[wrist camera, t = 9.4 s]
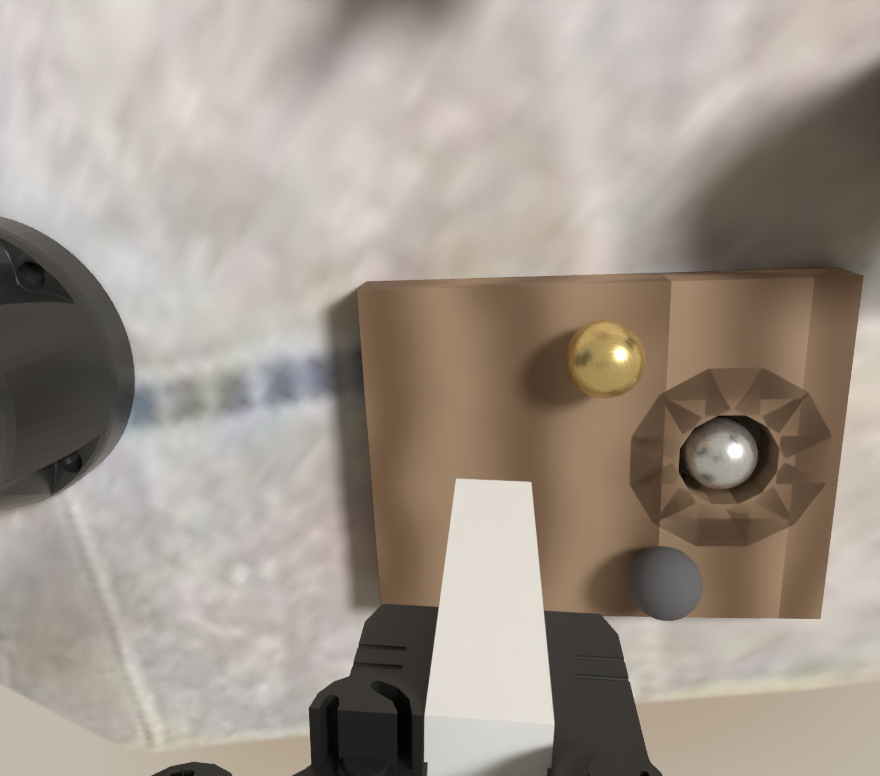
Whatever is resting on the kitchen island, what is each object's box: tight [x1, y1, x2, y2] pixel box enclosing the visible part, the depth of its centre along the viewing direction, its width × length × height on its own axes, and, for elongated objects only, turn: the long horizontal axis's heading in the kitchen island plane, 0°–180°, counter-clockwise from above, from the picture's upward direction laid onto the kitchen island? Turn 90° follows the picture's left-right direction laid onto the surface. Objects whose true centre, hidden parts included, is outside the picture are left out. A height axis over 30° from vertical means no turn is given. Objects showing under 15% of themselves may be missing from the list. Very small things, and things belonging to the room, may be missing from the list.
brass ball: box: [565, 320, 646, 398], centre depth 32 cm, size 3×3×3 cm
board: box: [357, 268, 863, 619], centre depth 36 cm, size 22×17×2 cm
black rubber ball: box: [628, 546, 703, 621], centre depth 35 cm, size 3×3×3 cm
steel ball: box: [682, 418, 758, 489], centre depth 36 cm, size 3×3×3 cm
